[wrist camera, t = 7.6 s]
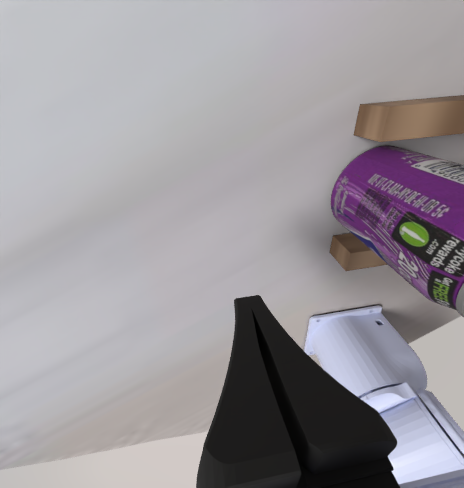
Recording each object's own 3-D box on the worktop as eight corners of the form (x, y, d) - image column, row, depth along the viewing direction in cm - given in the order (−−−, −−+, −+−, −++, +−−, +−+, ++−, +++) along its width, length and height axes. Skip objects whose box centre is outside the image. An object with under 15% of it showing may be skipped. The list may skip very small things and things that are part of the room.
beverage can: (310, 197, 20) (427, 300, 10) (378, 123, 18) (623, 165, 8) (355, 235, 23) (480, 343, 13) (419, 177, 21) (632, 257, 11)
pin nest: (594, -15, 15) (751, -57, 11) (436, 272, 28) (478, 303, 24) (382, -6, 14) (467, -49, 9) (321, 291, 27) (345, 327, 23)
